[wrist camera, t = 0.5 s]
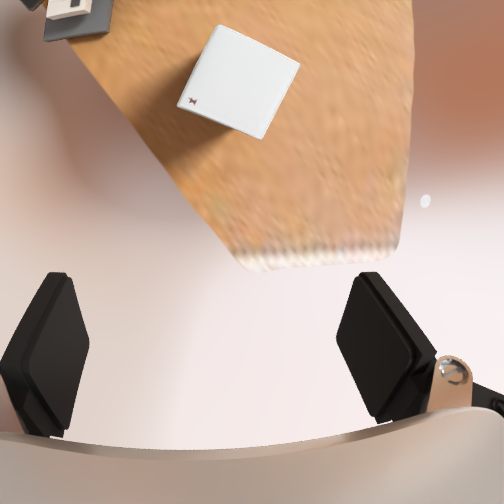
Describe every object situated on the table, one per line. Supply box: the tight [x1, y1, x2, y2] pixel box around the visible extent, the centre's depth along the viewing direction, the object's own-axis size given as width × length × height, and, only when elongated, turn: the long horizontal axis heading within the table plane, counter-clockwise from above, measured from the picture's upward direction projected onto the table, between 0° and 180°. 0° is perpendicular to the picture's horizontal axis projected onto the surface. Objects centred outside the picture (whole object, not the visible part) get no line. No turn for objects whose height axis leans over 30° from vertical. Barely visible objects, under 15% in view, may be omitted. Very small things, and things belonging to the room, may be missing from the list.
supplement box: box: [177, 24, 300, 140], centre depth 27 cm, size 7×7×13 cm
